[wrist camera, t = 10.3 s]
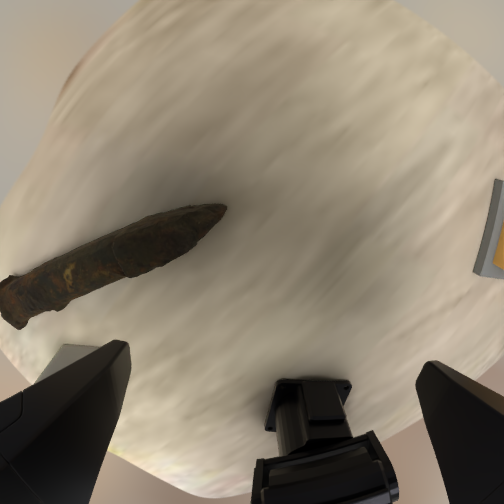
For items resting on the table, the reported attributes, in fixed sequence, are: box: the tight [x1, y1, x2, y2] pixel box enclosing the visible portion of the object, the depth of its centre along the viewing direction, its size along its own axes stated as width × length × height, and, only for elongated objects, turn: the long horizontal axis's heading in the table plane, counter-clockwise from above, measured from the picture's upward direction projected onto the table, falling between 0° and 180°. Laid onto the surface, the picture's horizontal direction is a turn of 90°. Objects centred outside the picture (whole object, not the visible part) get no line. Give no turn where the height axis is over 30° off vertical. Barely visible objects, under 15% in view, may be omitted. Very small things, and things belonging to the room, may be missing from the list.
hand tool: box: [0, 204, 227, 330], centre depth 17 cm, size 19×4×5 cm, turn 108°
